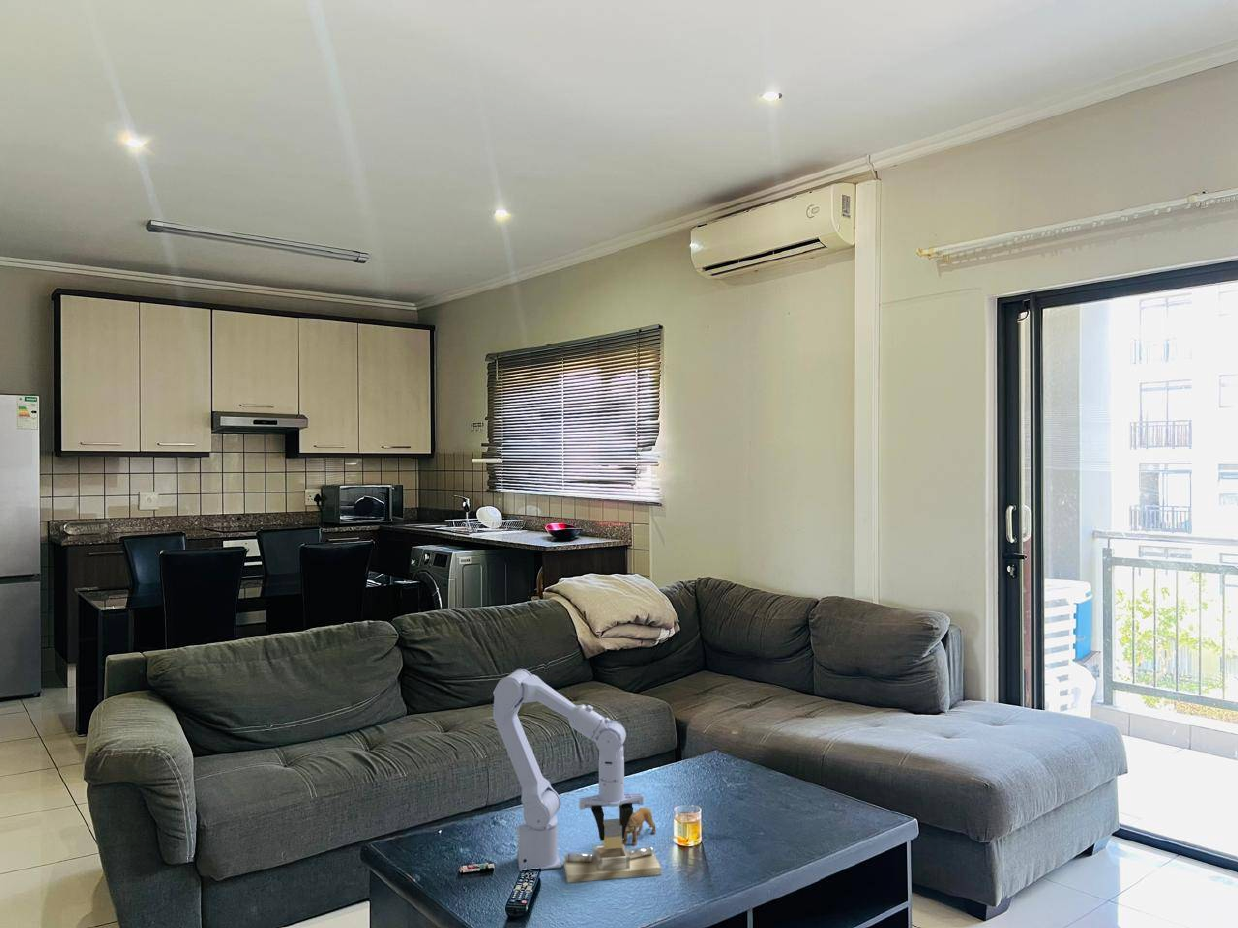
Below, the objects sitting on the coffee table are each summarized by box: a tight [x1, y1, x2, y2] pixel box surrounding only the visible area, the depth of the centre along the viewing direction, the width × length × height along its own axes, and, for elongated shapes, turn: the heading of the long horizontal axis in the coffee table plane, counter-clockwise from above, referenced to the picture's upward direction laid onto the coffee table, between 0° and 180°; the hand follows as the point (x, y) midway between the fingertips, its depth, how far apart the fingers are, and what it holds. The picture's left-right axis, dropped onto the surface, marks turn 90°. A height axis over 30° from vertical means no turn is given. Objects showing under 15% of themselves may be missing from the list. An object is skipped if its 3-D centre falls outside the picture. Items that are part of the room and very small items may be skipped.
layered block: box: [601, 818, 623, 849], centre depth 199 cm, size 4×4×5 cm
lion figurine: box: [618, 807, 656, 846], centre depth 216 cm, size 15×5×9 cm, turn 152°
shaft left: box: [563, 852, 594, 862], centre depth 199 cm, size 7×2×2 cm, turn 86°
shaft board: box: [562, 843, 662, 884], centre depth 199 cm, size 21×9×4 cm, turn 101°
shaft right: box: [627, 845, 655, 859], centre depth 202 cm, size 7×2×2 cm, turn 116°
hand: (611, 837), depth 199 cm, fingers closed on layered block, 4 cm apart
